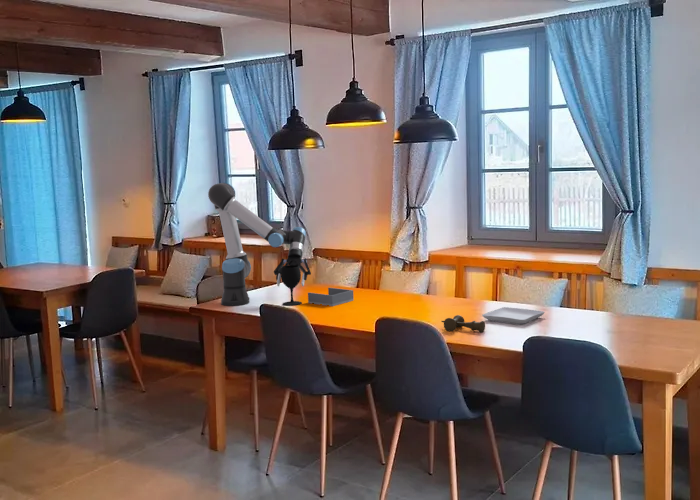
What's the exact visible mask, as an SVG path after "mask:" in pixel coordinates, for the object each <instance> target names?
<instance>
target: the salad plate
mask: <svg viewBox="0 0 700 500" xmlns="http://www.w3.org/2000/svg"><path fill="white" fill-rule="evenodd" d="M544 314H545V311H542V310H536V309H535V310H534V309H528V308H518V307H508V306H507V307H506V306H503V307H500V308H496V309H494V310H492V311H489V312H486V313H483V314H482V316H481V317H483V318H484V319H486V320H489V321H492V322H498V323H505V324H513V325H523V324H527V323H529V322H531V321H533V320H536V319H538V318H540V317H542V316H543V315H544Z"/></svg>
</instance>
